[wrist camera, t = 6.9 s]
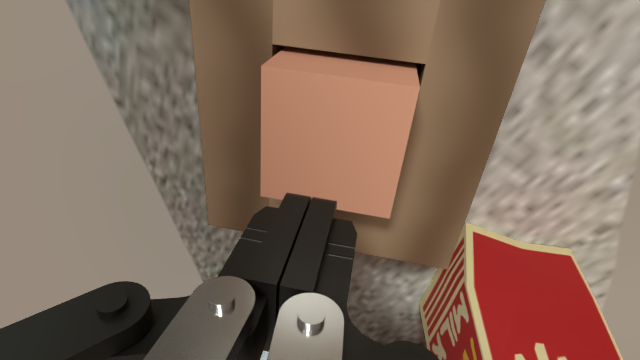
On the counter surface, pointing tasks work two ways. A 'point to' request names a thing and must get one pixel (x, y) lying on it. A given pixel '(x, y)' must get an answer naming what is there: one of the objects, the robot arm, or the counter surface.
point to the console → (380, 42)
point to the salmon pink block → (336, 127)
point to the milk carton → (513, 304)
